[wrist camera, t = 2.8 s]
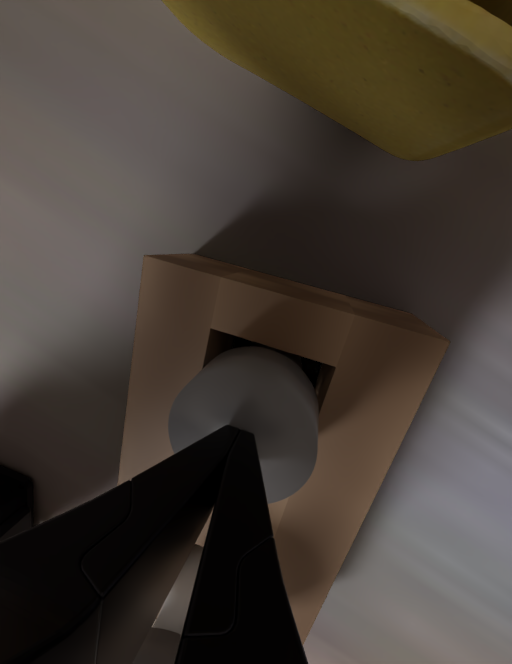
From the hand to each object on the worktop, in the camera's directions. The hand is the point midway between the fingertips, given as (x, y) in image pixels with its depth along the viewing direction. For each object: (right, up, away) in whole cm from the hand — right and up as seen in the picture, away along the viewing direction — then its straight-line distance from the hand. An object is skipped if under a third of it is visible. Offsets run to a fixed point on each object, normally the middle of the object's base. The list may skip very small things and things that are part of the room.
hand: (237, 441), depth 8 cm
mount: (0, -3, +7) cm, 8 cm away
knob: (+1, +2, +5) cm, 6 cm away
